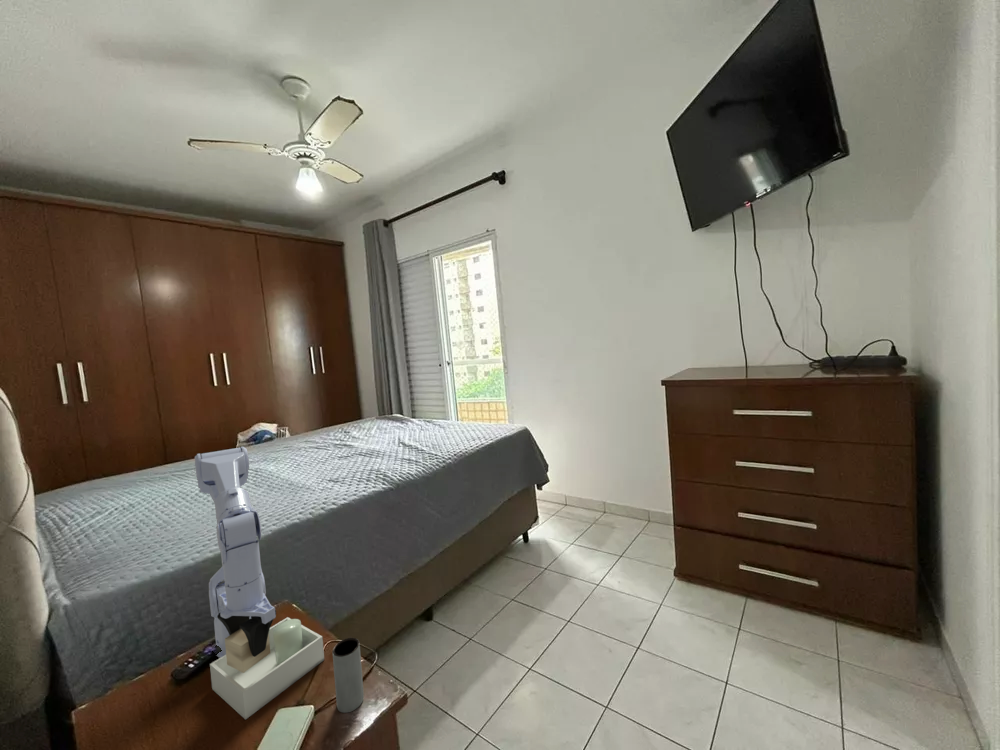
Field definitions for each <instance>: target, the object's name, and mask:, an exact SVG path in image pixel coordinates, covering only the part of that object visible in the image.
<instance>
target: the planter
mask: <svg viewBox="0 0 1000 750" xmlns="http://www.w3.org/2000/svg"><path fill="white" fill-rule="evenodd" d="M332 648H333V649H332V660H333V661H332V665H333V675H334V686H335V688H334V689H335V700H336V701H335V702H336V708H337V710H338V711H339V712H340V713H345V714H346V713H350V712H352V711H354V710H356V709H357V708H359V707H360V706H361V704H362V702H364V697H365V693H364V682H363V680H364V679H363V670H362V669H363V668H362V659H361V657H362V655H361V645H360V640H359V638H357V637H356V638H355V637H347V638H344V639H342V640H341V641H338V642H337V643H336V644H335V646H334V647H332Z"/></svg>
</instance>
